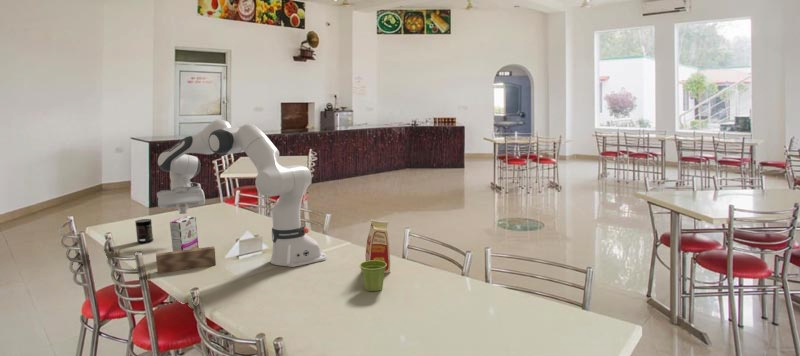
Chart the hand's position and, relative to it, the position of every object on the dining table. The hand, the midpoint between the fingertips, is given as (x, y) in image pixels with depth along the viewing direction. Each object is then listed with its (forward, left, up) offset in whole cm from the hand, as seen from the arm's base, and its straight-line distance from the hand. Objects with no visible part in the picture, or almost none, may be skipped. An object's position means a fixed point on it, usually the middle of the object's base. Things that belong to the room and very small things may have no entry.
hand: (183, 213), depth 221 cm
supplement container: (+17, -12, -15) cm, 26 cm away
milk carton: (-67, +74, -15) cm, 101 cm away
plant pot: (-58, +91, -15) cm, 109 cm away
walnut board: (0, +38, -15) cm, 40 cm away
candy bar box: (0, +21, -15) cm, 25 cm away
